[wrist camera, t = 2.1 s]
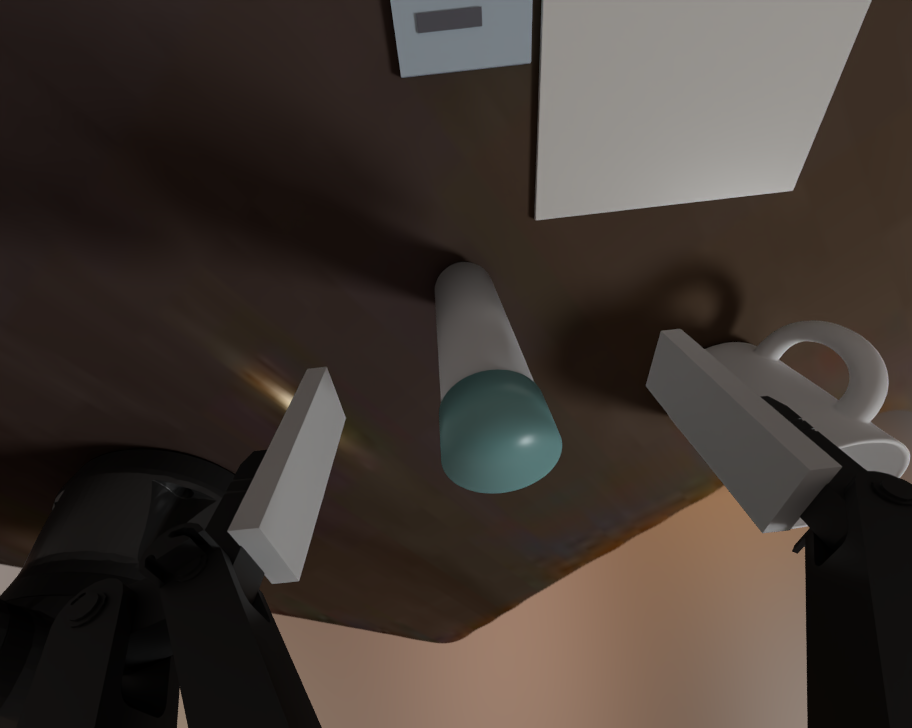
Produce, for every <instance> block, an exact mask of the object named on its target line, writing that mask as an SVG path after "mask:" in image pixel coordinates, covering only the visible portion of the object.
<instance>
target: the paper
mask: <svg viewBox="0 0 912 728" xmlns="http://www.w3.org/2000/svg"><path fill="white" fill-rule="evenodd" d="M870 3H871V0H542V1H541V31H540V62H539V92H538V122H537V153H536V183H535V213H534V219H535V220H543V219H552V218H560V217H569V216H578V215H586V214H595V213H604V212H612V211H621V210H630V209H638V208H647V207H656V206H664V205H673V204H682V203H690V202H699V201H708V200H716V199H725V198H734V197H742V196H751V195H760V194H768V193H777V192H786V191H793V189H794V187H795V184H796V182H797V179H798V177H799V175H800V172H801V170H802V167H803V165H804V162H805V160H806V158H807V155H808V153H809V150H810V148H811V145H812V143H813V141H814V138H815V136H816V133H817V131H818V129H819V126H820V124H821V121H822V119H823V116H824V114H825V112H826V109H827V107H828V104H829V102H830V99H831V97H832V95H833V92H834V90H835V87H836V85H837V83H838V80H839V78H840V75H841V73H842V70H843V68H844V66H845V63H846V61H847V58H848V56H849V53H850V51H851V49H852V46H853V44H854V41H855V39H856V37H857V34H858V32H859V29H860V27H861V24H862V22H863V20H864V17H865V15H866V12H867V10H868V8H869V5H870Z"/></svg>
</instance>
